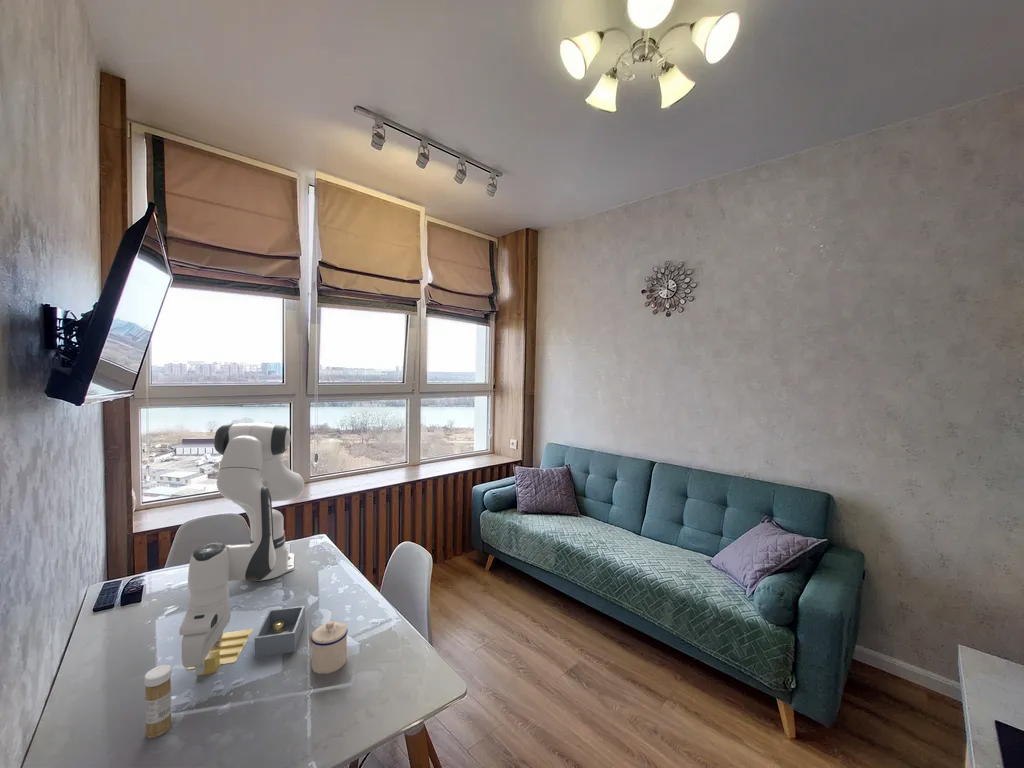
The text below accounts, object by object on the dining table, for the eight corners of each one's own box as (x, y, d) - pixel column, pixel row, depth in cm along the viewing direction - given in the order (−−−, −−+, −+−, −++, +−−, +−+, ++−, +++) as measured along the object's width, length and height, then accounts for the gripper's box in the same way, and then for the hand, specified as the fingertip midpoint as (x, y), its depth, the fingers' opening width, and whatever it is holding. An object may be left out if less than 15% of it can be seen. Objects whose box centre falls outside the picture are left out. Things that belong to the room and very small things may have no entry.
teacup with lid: (354, 659, 115) (355, 618, 115) (327, 681, 107) (327, 636, 107) (324, 646, 121) (324, 606, 120) (295, 666, 112) (296, 623, 112)
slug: (274, 631, 126) (274, 621, 126) (285, 629, 127) (285, 620, 127) (271, 637, 123) (271, 627, 123) (282, 635, 124) (282, 625, 124)
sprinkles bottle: (168, 718, 95) (167, 660, 94) (174, 728, 92) (174, 669, 92) (142, 732, 91) (141, 672, 91) (148, 743, 88) (147, 681, 88)
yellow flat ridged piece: (211, 637, 124) (211, 622, 124) (253, 631, 127) (253, 616, 127) (180, 680, 106) (180, 663, 106) (230, 672, 110) (230, 655, 109)
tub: (269, 629, 128) (269, 610, 128) (304, 624, 131) (304, 605, 130) (254, 659, 114) (254, 638, 114) (294, 653, 117) (294, 632, 117)
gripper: (211, 589, 118) (211, 637, 119) (175, 633, 99) (175, 690, 99) (237, 587, 120) (237, 634, 121) (206, 629, 100) (206, 685, 101)
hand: (209, 659), depth 110 cm, fingers open, 8 cm apart
